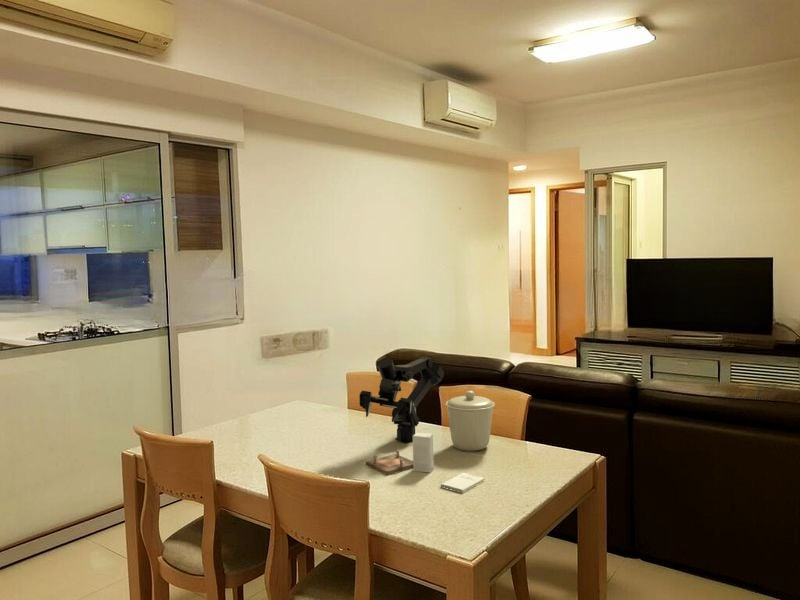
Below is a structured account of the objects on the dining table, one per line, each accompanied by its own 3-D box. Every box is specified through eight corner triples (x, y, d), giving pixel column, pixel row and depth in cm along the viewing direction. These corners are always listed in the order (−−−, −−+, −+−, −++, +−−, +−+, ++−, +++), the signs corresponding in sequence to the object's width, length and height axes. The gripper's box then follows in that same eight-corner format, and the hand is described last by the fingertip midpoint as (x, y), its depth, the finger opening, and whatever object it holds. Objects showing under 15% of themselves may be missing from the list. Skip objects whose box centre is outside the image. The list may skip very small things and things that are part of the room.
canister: (458, 457, 215) (457, 398, 213) (438, 442, 232) (437, 388, 230) (503, 451, 221) (503, 393, 219) (481, 437, 238) (481, 384, 236)
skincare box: (433, 468, 204) (433, 433, 203) (430, 473, 200) (429, 437, 199) (416, 466, 206) (416, 432, 205) (412, 471, 202) (412, 435, 201)
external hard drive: (440, 488, 188) (462, 476, 197) (462, 495, 183) (484, 482, 192) (440, 483, 188) (462, 471, 197) (462, 489, 183) (484, 477, 192)
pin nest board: (395, 457, 216) (395, 446, 216) (417, 466, 206) (417, 455, 206) (365, 464, 209) (365, 454, 208) (387, 475, 199) (387, 464, 198)
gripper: (365, 368, 221) (353, 396, 209) (416, 377, 218) (406, 405, 205) (365, 391, 227) (353, 420, 214) (414, 400, 224) (405, 430, 211)
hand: (379, 418), depth 211 cm, fingers open, 9 cm apart
